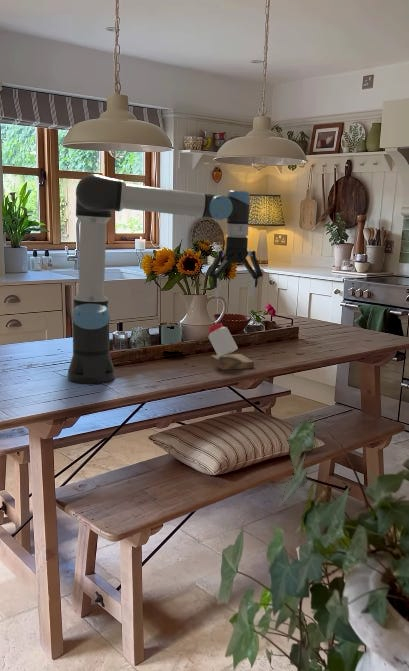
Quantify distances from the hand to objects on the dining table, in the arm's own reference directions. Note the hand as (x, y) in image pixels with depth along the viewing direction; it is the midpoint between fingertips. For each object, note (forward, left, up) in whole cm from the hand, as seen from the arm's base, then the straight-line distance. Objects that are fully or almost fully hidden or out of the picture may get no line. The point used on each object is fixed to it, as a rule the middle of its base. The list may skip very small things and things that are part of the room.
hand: (234, 296), depth 217 cm
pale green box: (-16, +24, -25) cm, 38 cm away
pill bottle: (-1, -1, -21) cm, 21 cm away
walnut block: (0, 0, -26) cm, 26 cm away
